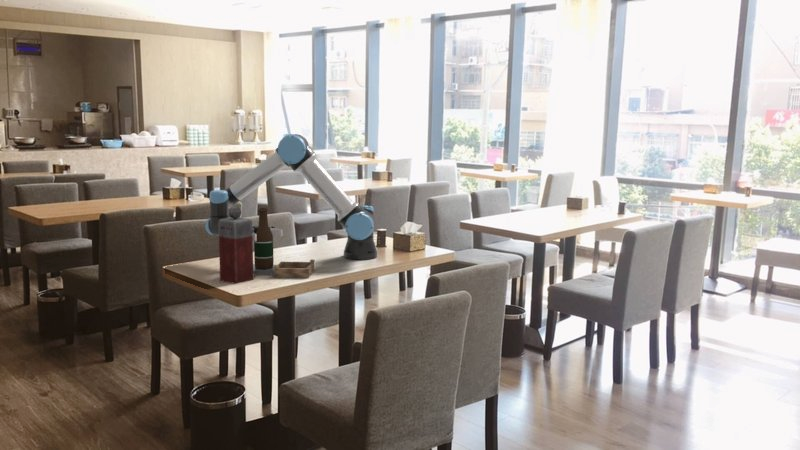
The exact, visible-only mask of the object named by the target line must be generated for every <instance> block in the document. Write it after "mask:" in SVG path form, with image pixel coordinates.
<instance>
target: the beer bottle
mask: <svg viewBox="0 0 800 450" xmlns="http://www.w3.org/2000/svg"><path fill="white" fill-rule="evenodd" d="M257 227H258V230H257V231H256V233H255V234H257V241H253V263H254V264H255V268H256V269H271V268H273V265H274V235H272V232H271V231H270V229H269V227H270V226H269V221H268V208H267V207H260V208H258V226H257Z"/></svg>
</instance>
